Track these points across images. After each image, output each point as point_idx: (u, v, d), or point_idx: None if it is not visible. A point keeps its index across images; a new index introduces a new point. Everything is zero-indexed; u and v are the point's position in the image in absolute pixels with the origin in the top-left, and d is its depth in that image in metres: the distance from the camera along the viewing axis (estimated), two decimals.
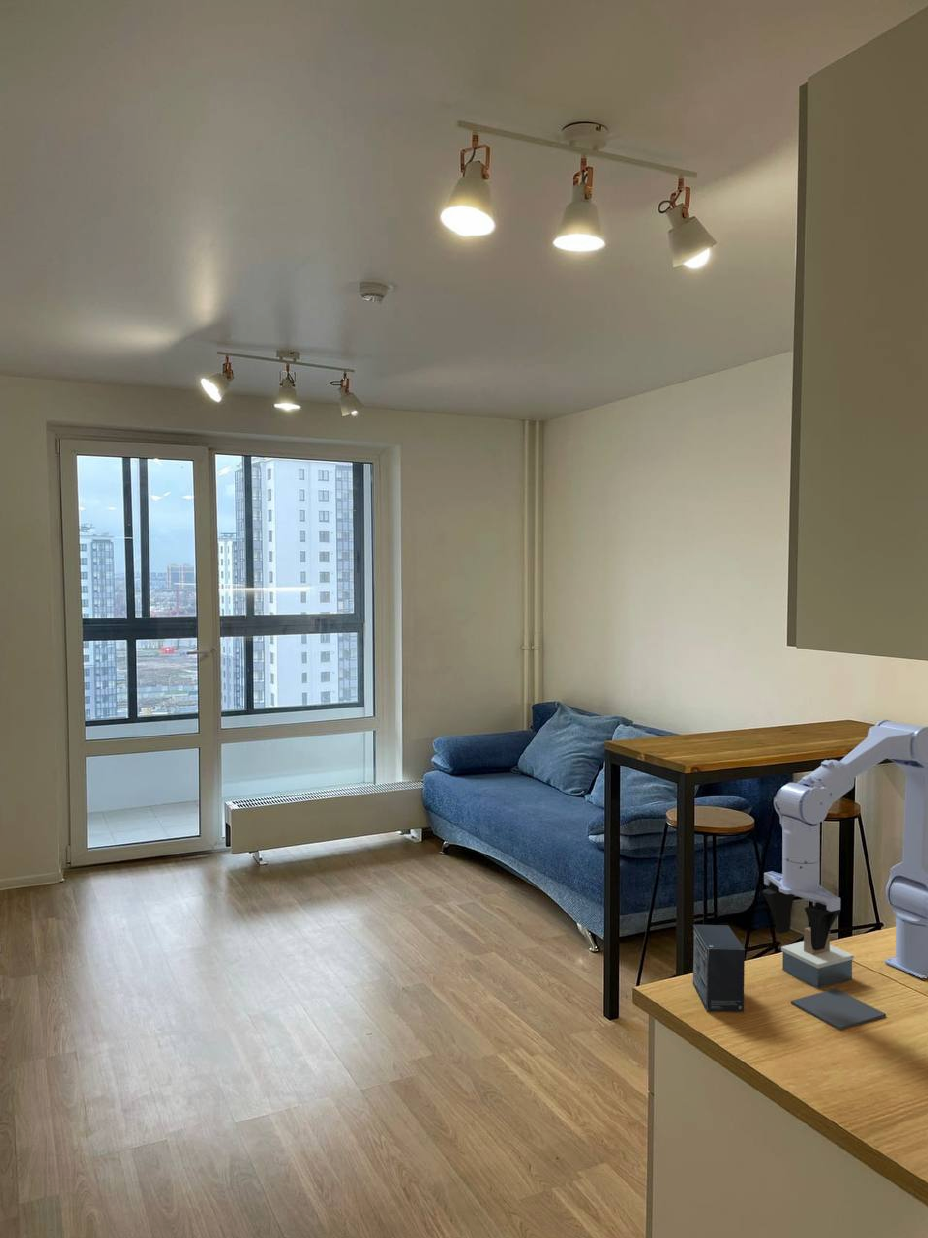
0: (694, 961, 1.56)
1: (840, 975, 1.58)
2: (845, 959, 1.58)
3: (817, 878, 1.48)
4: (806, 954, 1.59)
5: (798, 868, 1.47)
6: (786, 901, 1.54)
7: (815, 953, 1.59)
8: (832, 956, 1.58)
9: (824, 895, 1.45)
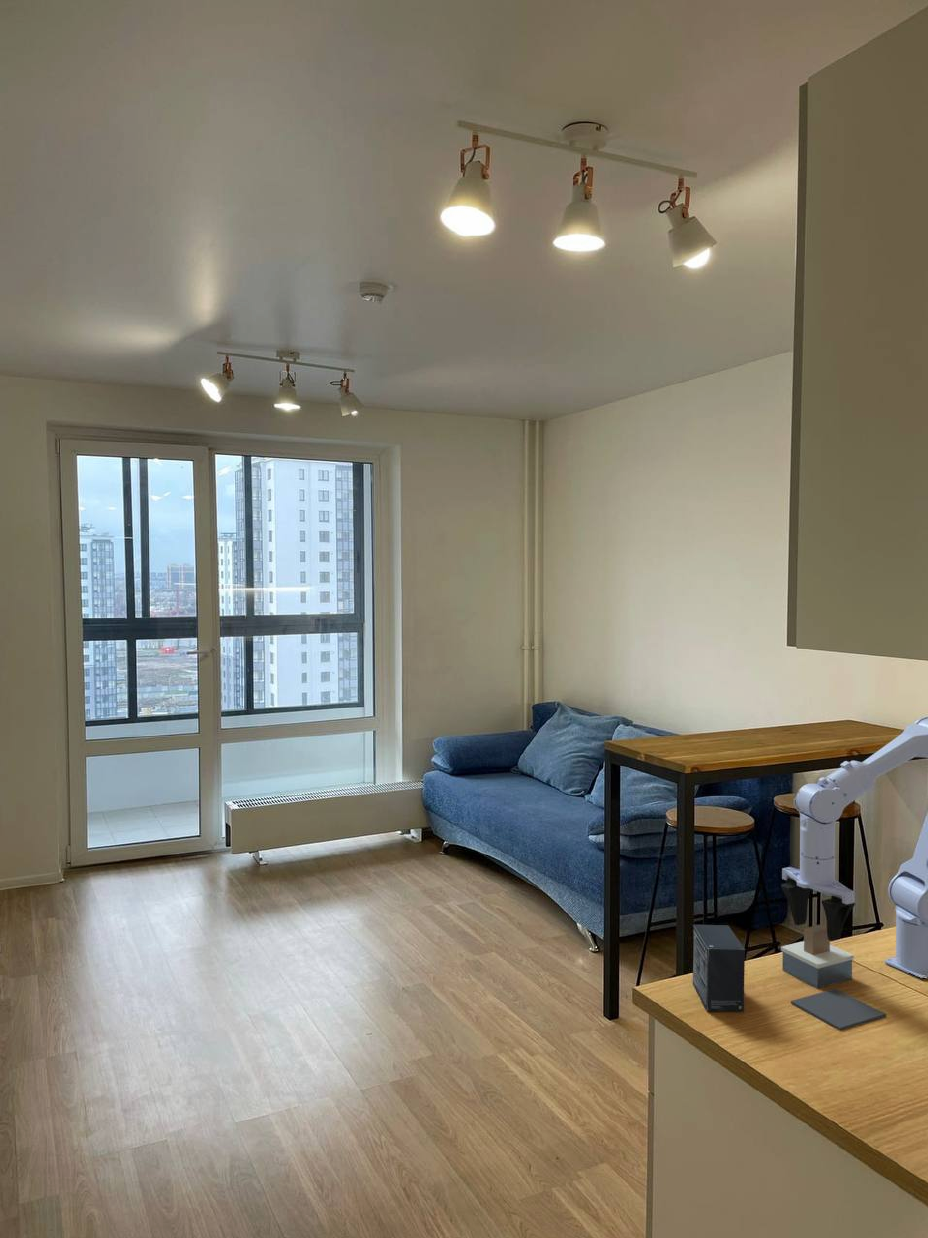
0: (694, 961, 1.56)
1: (840, 975, 1.58)
2: (845, 959, 1.58)
3: (833, 873, 1.58)
4: (806, 954, 1.59)
5: (815, 864, 1.57)
6: (803, 895, 1.64)
7: (815, 953, 1.59)
8: (832, 956, 1.58)
9: (840, 889, 1.55)
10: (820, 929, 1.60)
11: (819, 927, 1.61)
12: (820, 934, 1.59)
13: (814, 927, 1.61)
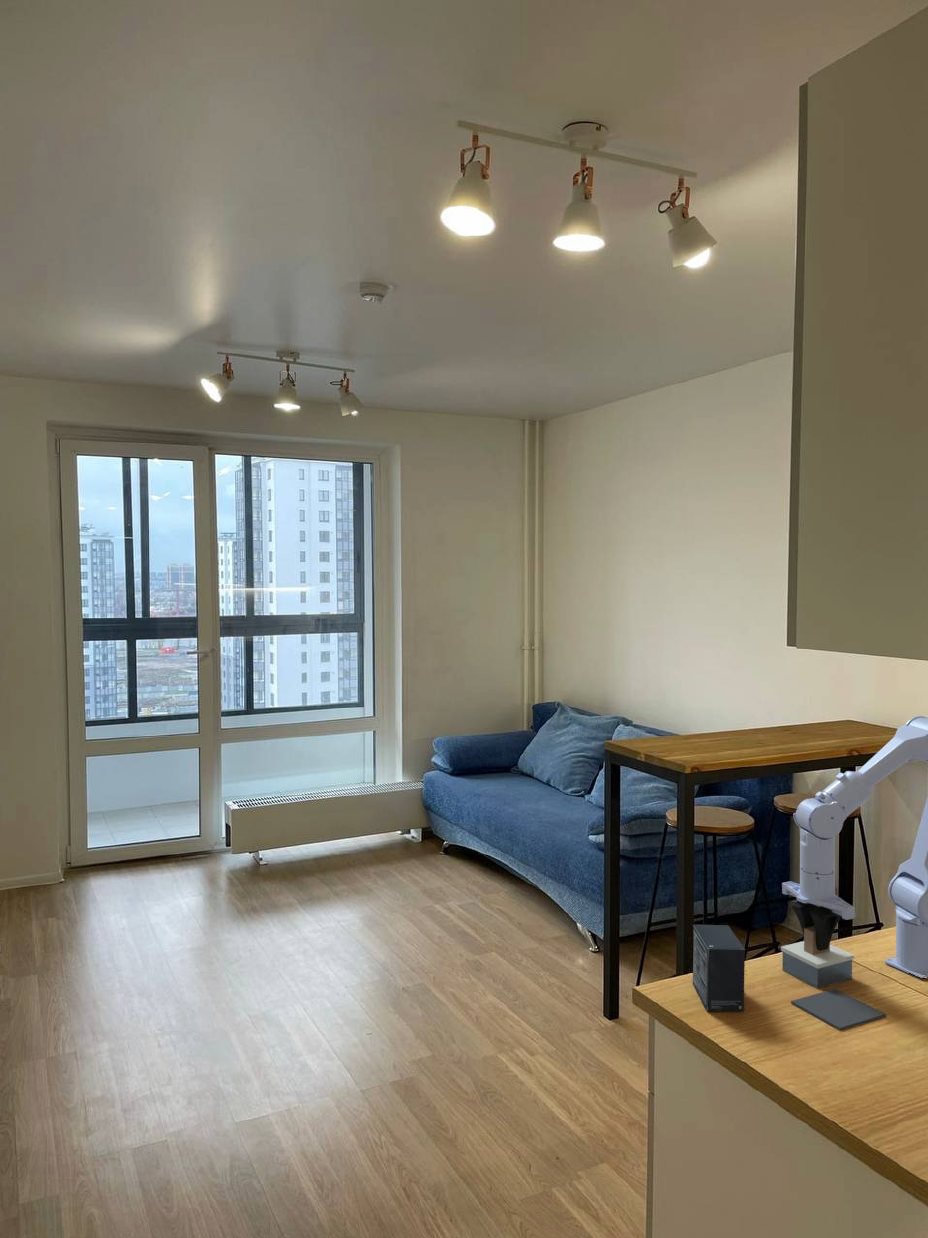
0: (694, 961, 1.56)
1: (840, 975, 1.58)
2: (845, 959, 1.58)
3: (833, 888, 1.58)
4: (806, 954, 1.59)
5: (815, 879, 1.57)
6: None
7: (815, 953, 1.59)
8: (832, 956, 1.58)
9: (840, 904, 1.55)
10: None
11: None
12: None
13: (814, 927, 1.61)
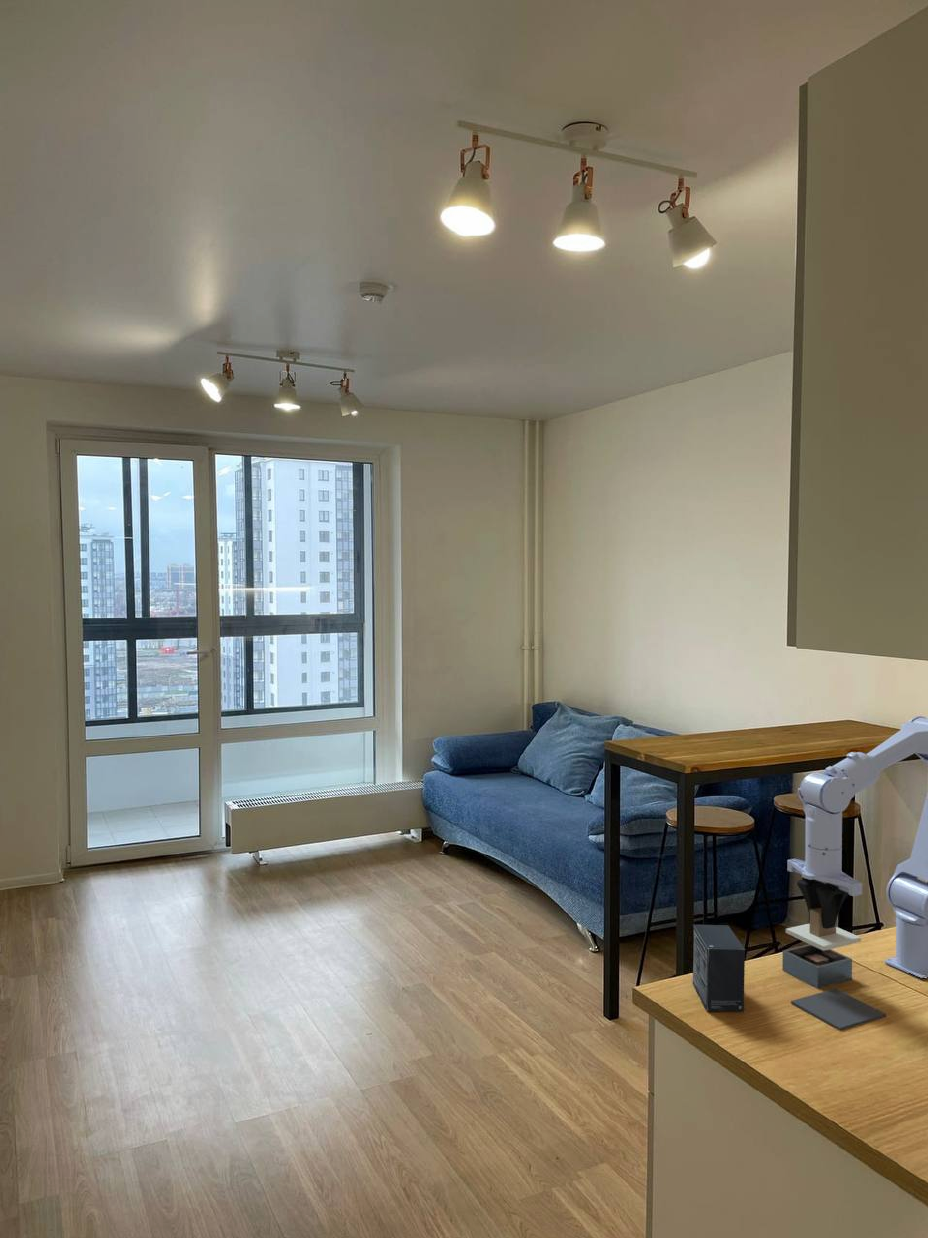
0: (694, 961, 1.56)
1: (840, 975, 1.58)
2: (852, 942, 1.53)
3: (839, 864, 1.53)
4: (812, 936, 1.55)
5: (821, 855, 1.53)
6: None
7: (821, 935, 1.55)
8: (838, 938, 1.54)
9: (846, 880, 1.51)
10: None
11: None
12: None
13: (820, 908, 1.57)
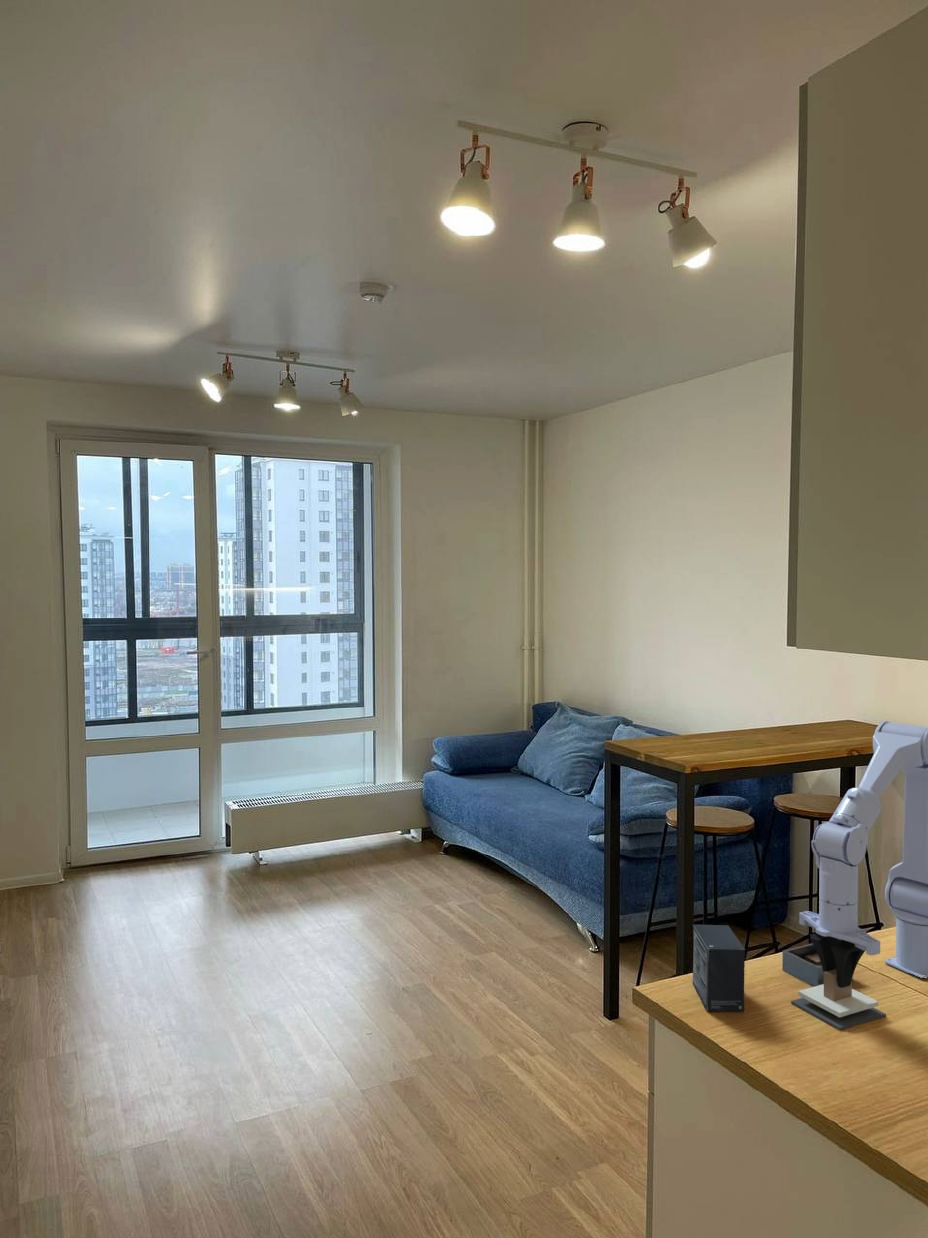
0: (694, 961, 1.56)
1: None
2: (869, 1006, 1.45)
3: (855, 920, 1.45)
4: (826, 1000, 1.46)
5: (836, 910, 1.44)
6: None
7: (836, 999, 1.46)
8: (855, 1003, 1.45)
9: (863, 938, 1.42)
10: None
11: None
12: None
13: (835, 970, 1.48)
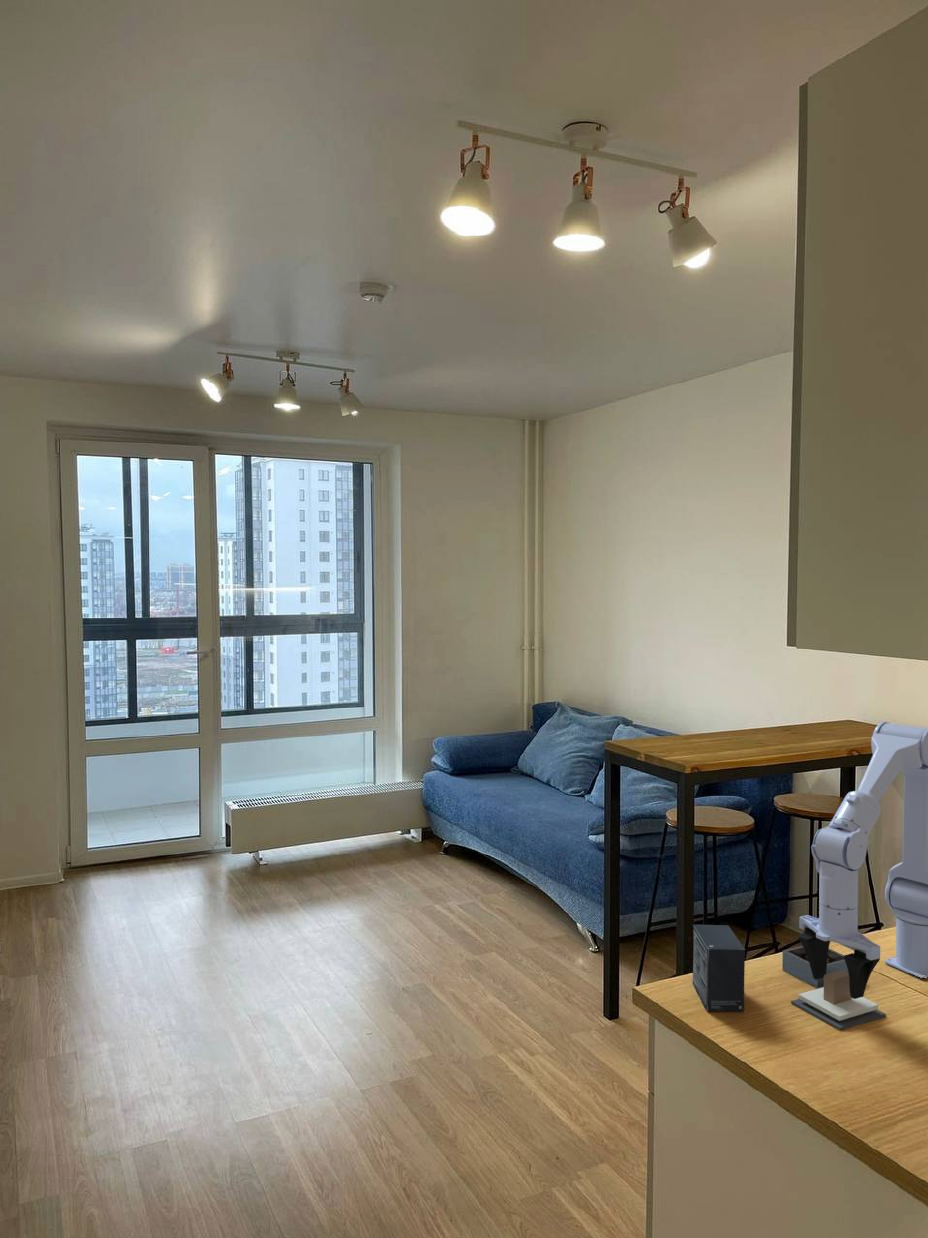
0: (694, 961, 1.56)
1: None
2: (869, 1010, 1.45)
3: (855, 924, 1.45)
4: (826, 1003, 1.46)
5: (836, 914, 1.44)
6: (822, 946, 1.51)
7: (836, 1002, 1.46)
8: (855, 1006, 1.45)
9: (863, 943, 1.43)
10: (841, 976, 1.47)
11: (840, 973, 1.48)
12: (842, 981, 1.47)
13: (835, 973, 1.48)
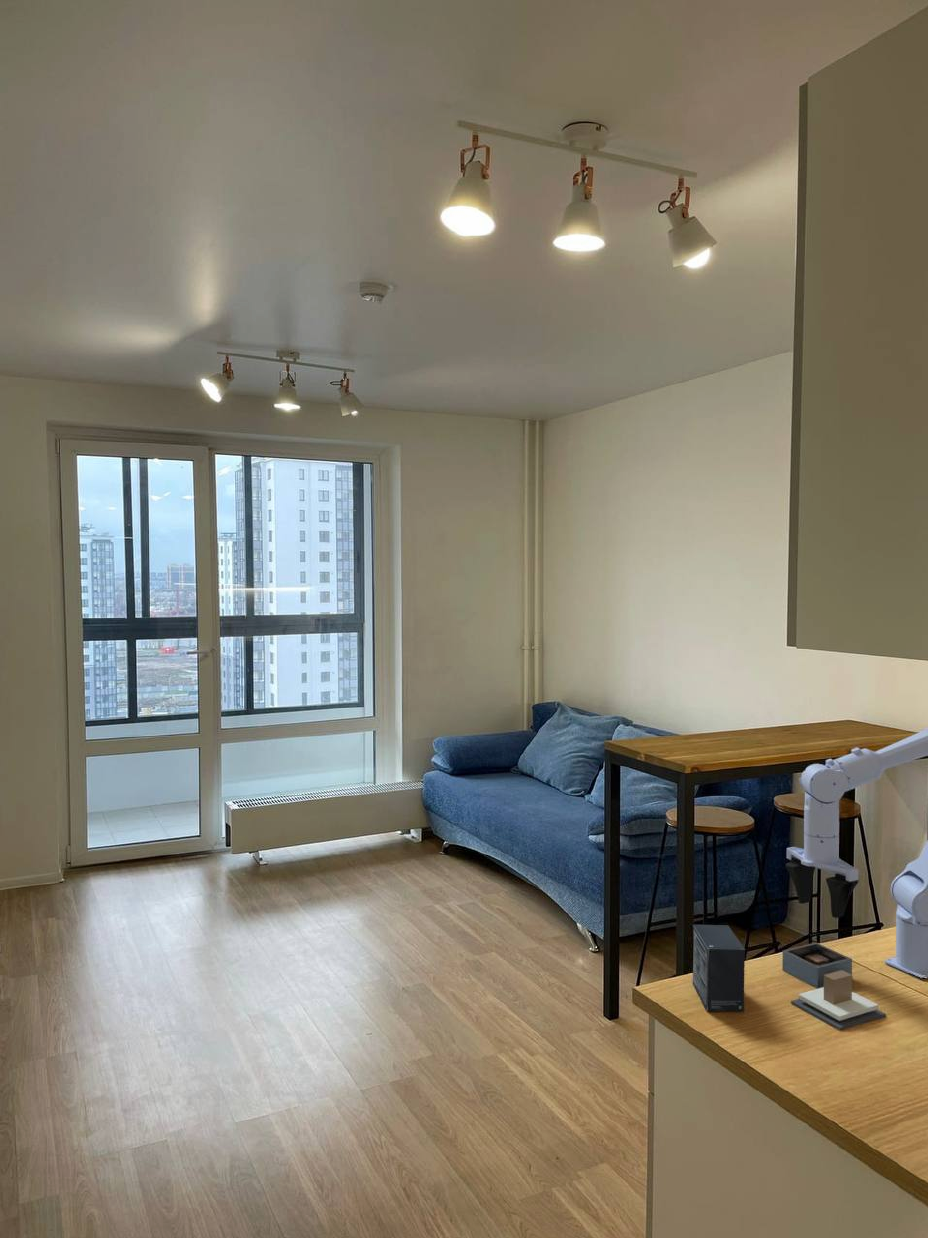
0: (694, 961, 1.56)
1: None
2: (869, 1010, 1.45)
3: (837, 851, 1.61)
4: (826, 1003, 1.46)
5: (819, 842, 1.60)
6: (807, 874, 1.67)
7: (836, 1002, 1.46)
8: (855, 1006, 1.45)
9: (843, 867, 1.58)
10: (841, 976, 1.47)
11: (840, 973, 1.48)
12: (842, 981, 1.47)
13: (835, 973, 1.48)
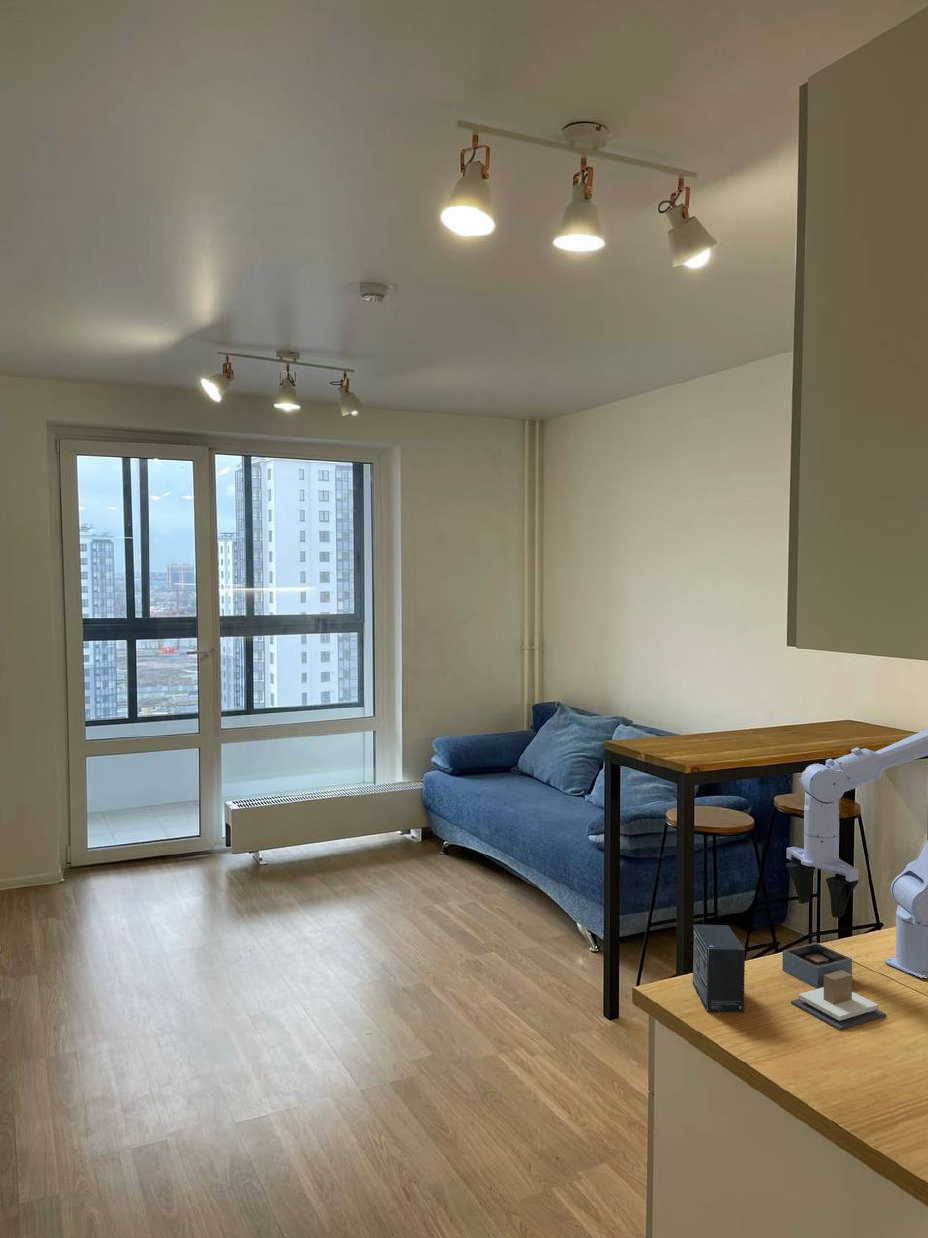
0: (694, 961, 1.56)
1: None
2: (869, 1010, 1.45)
3: (836, 851, 1.61)
4: (826, 1003, 1.46)
5: (819, 842, 1.60)
6: (807, 874, 1.67)
7: (836, 1002, 1.46)
8: (855, 1006, 1.45)
9: (843, 867, 1.58)
10: (841, 976, 1.47)
11: (840, 973, 1.48)
12: (842, 981, 1.47)
13: (835, 973, 1.48)
